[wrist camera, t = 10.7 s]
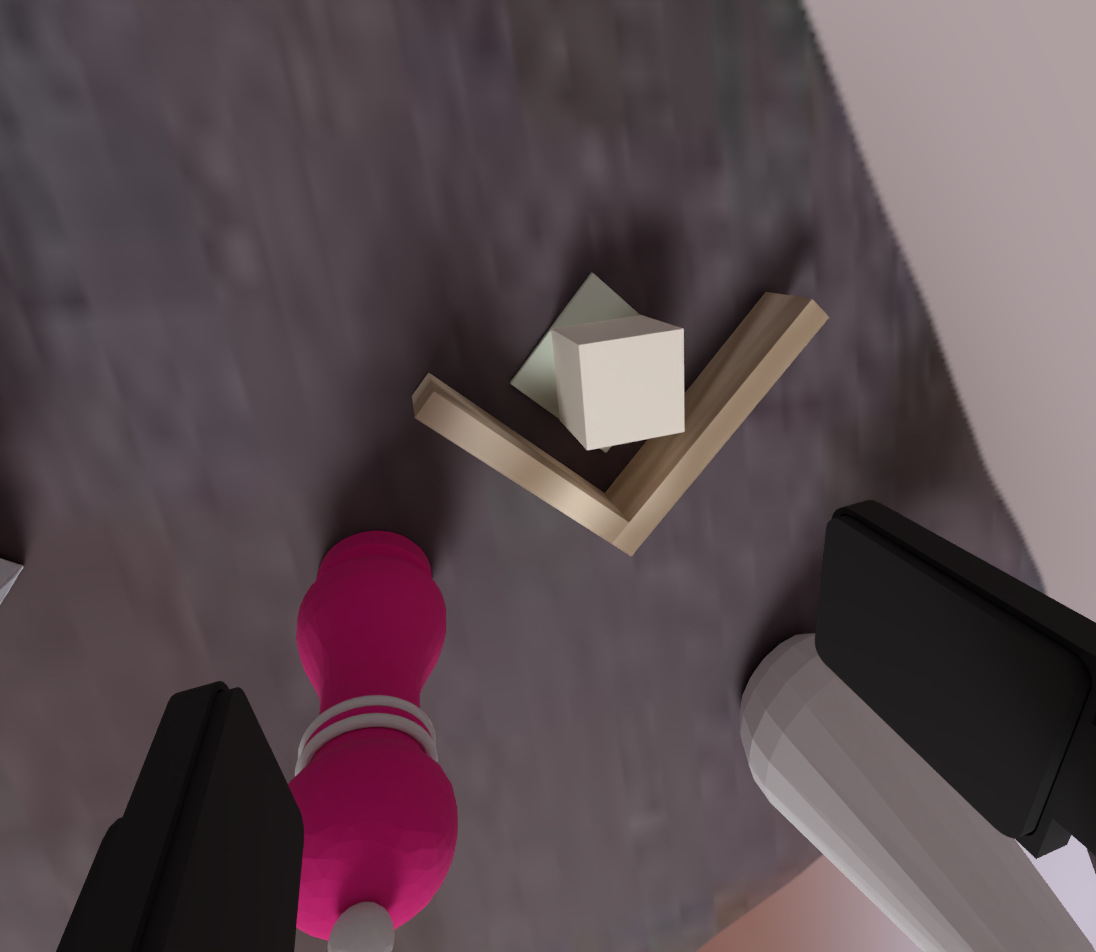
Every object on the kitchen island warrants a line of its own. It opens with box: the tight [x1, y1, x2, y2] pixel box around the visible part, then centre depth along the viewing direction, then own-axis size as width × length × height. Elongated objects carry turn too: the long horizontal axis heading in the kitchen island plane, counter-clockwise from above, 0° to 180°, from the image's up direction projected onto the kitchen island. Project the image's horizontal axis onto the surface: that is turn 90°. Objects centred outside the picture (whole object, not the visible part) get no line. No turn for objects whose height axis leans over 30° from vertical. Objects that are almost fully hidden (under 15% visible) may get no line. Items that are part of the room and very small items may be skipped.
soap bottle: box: [740, 633, 1096, 952], centre depth 31 cm, size 13×10×29 cm
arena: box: [412, 273, 829, 556], centre depth 30 cm, size 14×16×4 cm
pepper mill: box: [288, 531, 458, 952], centre depth 24 cm, size 7×7×20 cm
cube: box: [551, 315, 685, 450], centre depth 29 cm, size 5×5×5 cm
